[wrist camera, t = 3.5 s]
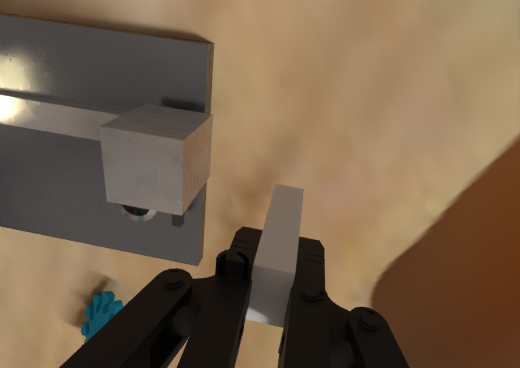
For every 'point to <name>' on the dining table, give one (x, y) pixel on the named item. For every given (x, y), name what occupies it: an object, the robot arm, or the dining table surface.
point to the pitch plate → (90, 130)
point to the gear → (100, 313)
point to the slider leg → (157, 158)
